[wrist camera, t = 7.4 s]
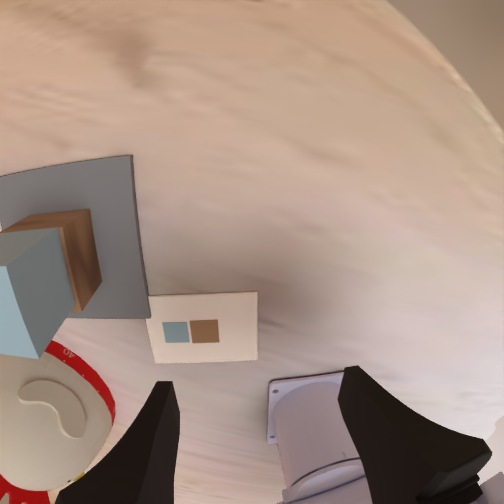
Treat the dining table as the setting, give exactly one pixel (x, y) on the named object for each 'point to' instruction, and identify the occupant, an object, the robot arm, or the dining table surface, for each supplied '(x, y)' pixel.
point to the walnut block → (71, 249)
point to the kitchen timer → (49, 422)
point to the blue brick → (32, 291)
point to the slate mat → (103, 222)
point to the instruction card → (203, 327)
